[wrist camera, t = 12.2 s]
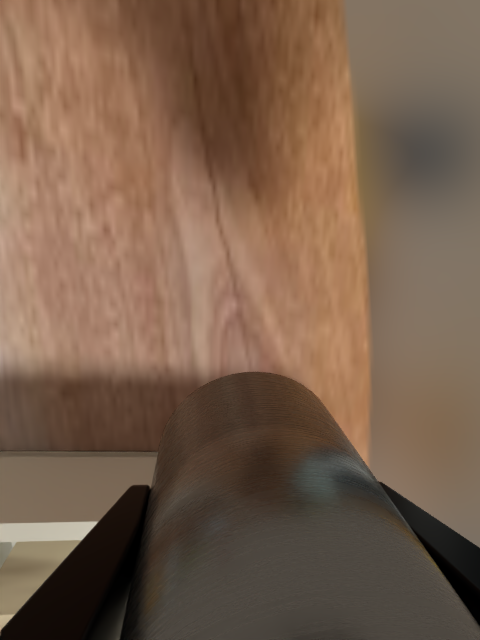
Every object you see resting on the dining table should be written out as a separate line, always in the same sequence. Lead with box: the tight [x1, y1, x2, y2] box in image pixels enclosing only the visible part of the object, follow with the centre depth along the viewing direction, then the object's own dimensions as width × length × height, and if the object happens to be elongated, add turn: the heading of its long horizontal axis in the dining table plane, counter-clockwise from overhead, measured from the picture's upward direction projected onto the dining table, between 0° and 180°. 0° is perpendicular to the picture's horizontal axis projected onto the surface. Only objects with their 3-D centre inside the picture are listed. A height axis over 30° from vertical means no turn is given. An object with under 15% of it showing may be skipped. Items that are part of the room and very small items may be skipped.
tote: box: [0, 451, 158, 568], centre depth 19 cm, size 18×14×5 cm
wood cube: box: [0, 540, 81, 631], centre depth 18 cm, size 5×5×5 cm
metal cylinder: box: [120, 372, 480, 640], centre depth 6 cm, size 5×5×7 cm
